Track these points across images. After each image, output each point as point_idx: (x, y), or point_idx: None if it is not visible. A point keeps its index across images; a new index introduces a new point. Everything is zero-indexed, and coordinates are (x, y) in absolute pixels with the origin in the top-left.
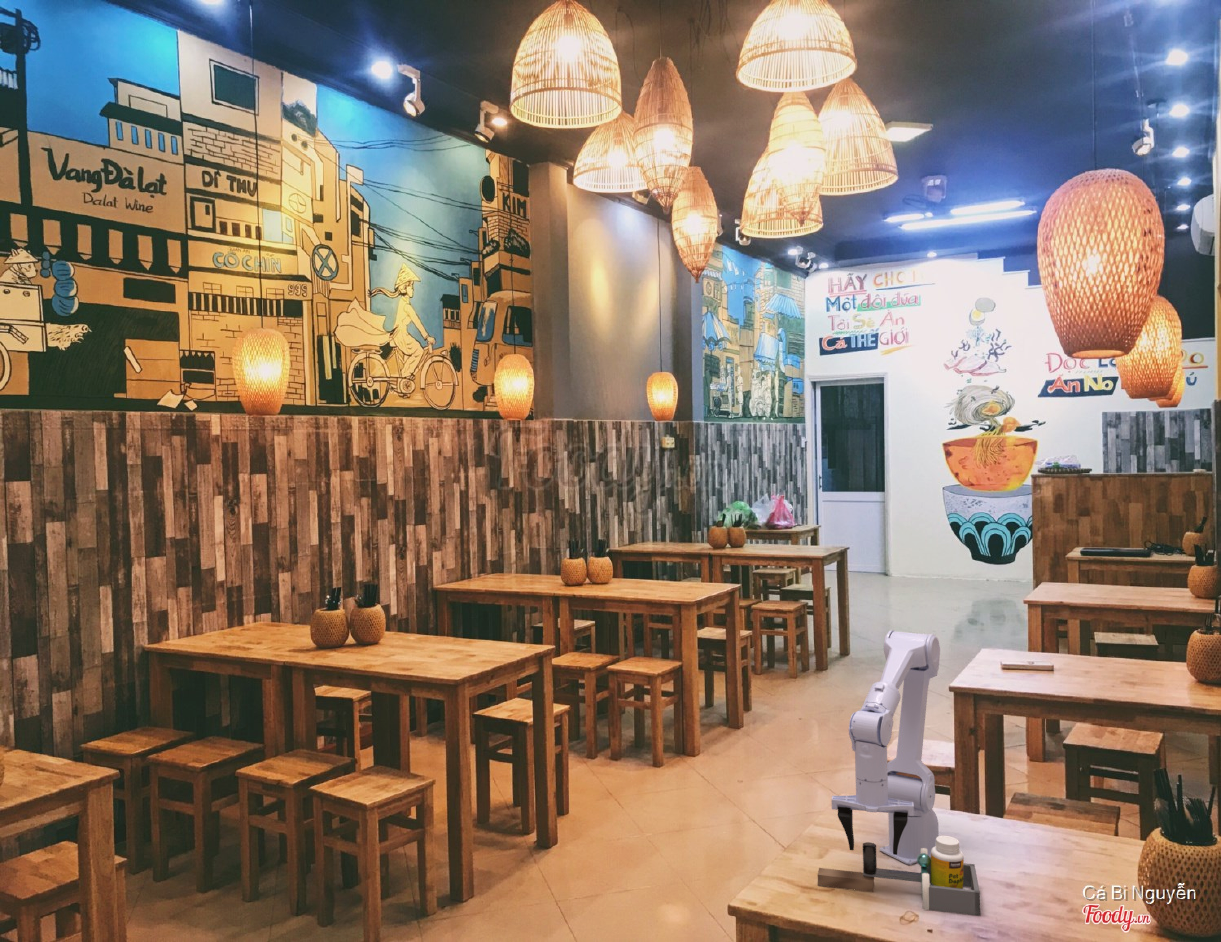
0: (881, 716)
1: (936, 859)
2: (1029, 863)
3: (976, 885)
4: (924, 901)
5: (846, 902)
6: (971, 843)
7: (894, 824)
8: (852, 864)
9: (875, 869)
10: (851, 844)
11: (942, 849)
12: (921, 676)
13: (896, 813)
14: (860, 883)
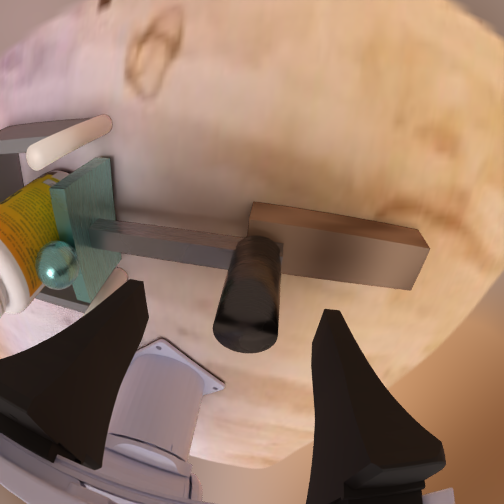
0: None
1: (5, 239)
2: (11, 328)
3: None
4: (93, 120)
5: (354, 126)
6: None
7: (42, 384)
8: (293, 341)
9: (235, 252)
10: (338, 327)
11: None
12: None
13: (39, 449)
14: (295, 219)
